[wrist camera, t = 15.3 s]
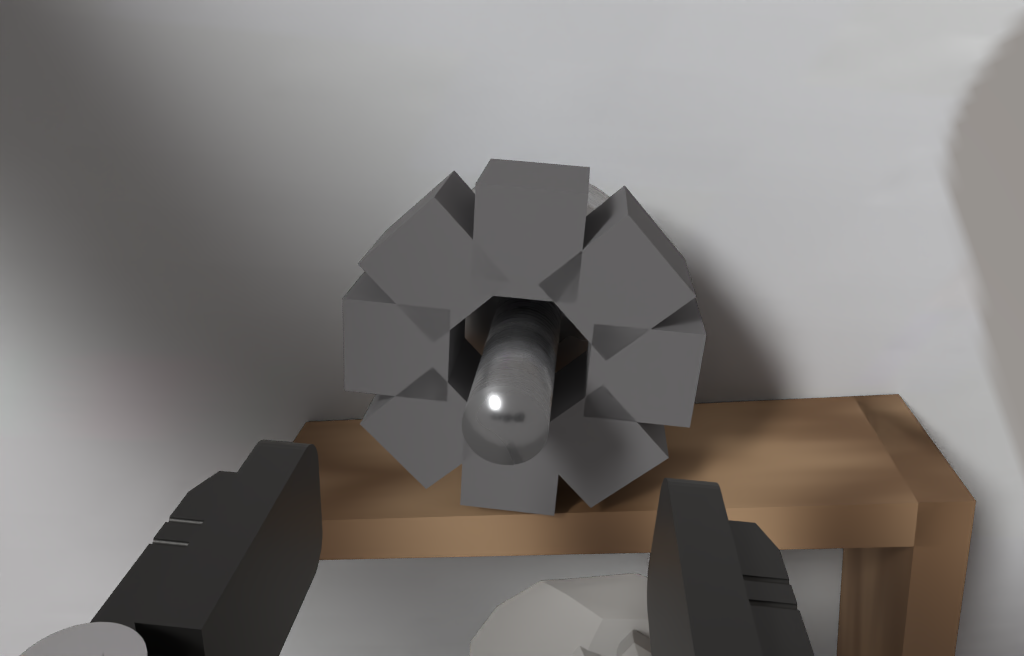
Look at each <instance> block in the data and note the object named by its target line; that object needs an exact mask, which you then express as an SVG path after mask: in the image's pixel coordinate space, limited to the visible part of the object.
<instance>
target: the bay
mask: <svg viewBox="0 0 1024 656" xmlns="http://www.w3.org/2000/svg"><path fill="white" fill-rule="evenodd" d="M361 421H362V419H357V420H335V421H314V422H306V423H305V425H304V426H303V428H302V429H301V431H300V432H299V434H298V435H297V437H296V438H295V440H294V441H293V442H294V443H305V444H313V445H315V447H316V449H317V453H318V460H319V477H320V494H321V512H322V530H323V535H322V547H321V554H320V559H319V560H340V559H384V558H429V557H473V556H518V555H562V554H606V553H651V547H652V541H653V535H654V528H655V522H656V516H657V509H658V503H659V496H660V490H661V486H662V482H663V479H664V478H674V479H685V480H696V481H707V482H717V483H718V484H719V486H720V489H721V493H722V497H723V501H724V505H725V508H726V512H727V516H728V520H732V521H742V522H753V523H756V524H757V525H758V526H759V527H760V528H761V530H762V531H763V532H764V533H765V534H766V535H767V536H768V537H769V539H770V540H771V541H772V542H773V543H774V544H775V545H776V546H777V548H778V549H779V550H784V549H828V548H843V564H842V579H841V595H840V611H839V626H838V642H837V656H955V648H956V641H957V634H958V627H959V620H960V612H961V605H962V598H963V591H964V584H965V576H966V569H967V562H968V555H969V548H970V540H971V533H972V526H973V519H974V512H975V504H976V501H975V499H974V498H973V496H972V495H971V494H970V492H969V491H968V489H967V488H966V487H965V485H964V484H963V483H962V481H961V480H960V478H959V477H958V476H957V474H956V473H955V472H954V470H953V469H952V467H951V466H950V465H949V463H948V462H947V460H946V459H945V458H944V456H943V455H942V454H941V452H940V451H939V449H938V448H937V447H936V445H935V444H934V443H933V441H932V440H931V438H930V437H929V436H928V434H927V433H926V432H925V430H924V429H923V427H922V426H921V425H920V423H919V422H918V420H917V419H916V418H915V416H914V415H913V414H912V412H911V411H910V409H909V408H908V407H907V405H906V404H905V403H904V401H903V400H902V398H901V397H900V396H899V394H893V395H872V396H850V397H829V398H807V399H786V400H764V401H743V402H721V403H700V404H694V408H693V413H692V419H691V424H690V428H688V427H678V426H669V425H664V428H665V435H666V442H667V449H668V456H669V458H668V459H666V460H665V461H663V462H662V463H660V464H658V465H657V466H655V467H654V468H652V469H651V470H649V471H648V472H646V473H644V474H643V475H641V476H640V477H638V478H637V479H635V480H633V481H632V482H630V483H629V484H627V485H626V486H624V487H623V488H621V489H619V490H618V491H616V492H615V493H613V494H612V495H610V496H609V497H607V498H605V499H604V500H602V501H601V502H599V503H598V504H596V505H594V506H593V507H591V508H590V507H589V506H588V505H587V504H586V502H585V501H584V500H583V499H582V498H581V497H580V496H579V495H578V494H577V493H576V492H575V491H574V490H573V489H572V488H571V487H570V486H569V485H568V484H567V483H566V482H565V480H564V479H563V478H562V477H561V476H560V475H558V485H557V494H556V504H555V513H554V516H551V515H543V514H534V513H525V512H517V511H508V510H499V509H491V508H482V507H473V506H465V505H460V498H461V477H462V464H461V465H459V466H458V467H457V468H455V469H454V470H452V471H451V472H450V473H448V474H447V475H445V476H444V477H443V478H441V479H440V480H438V481H437V482H436V483H434V484H433V485H431V486H430V487H429V488H427V489H426V488H425V487H424V486H423V485H422V484H421V483H420V482H418V481H417V480H416V479H415V478H414V477H413V476H412V475H411V474H410V473H409V472H408V471H407V470H406V469H405V468H404V467H403V466H402V465H401V464H400V463H399V462H398V461H397V460H396V459H395V458H394V457H393V456H392V455H391V454H390V453H389V452H388V451H387V450H386V449H385V448H384V447H383V446H382V445H381V444H380V443H379V442H378V441H377V440H376V439H375V438H374V437H373V436H372V435H371V434H370V433H369V432H367V431H366V430H365V429H364V428H363V427H362V426H361V425H360V423H361Z"/></svg>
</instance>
